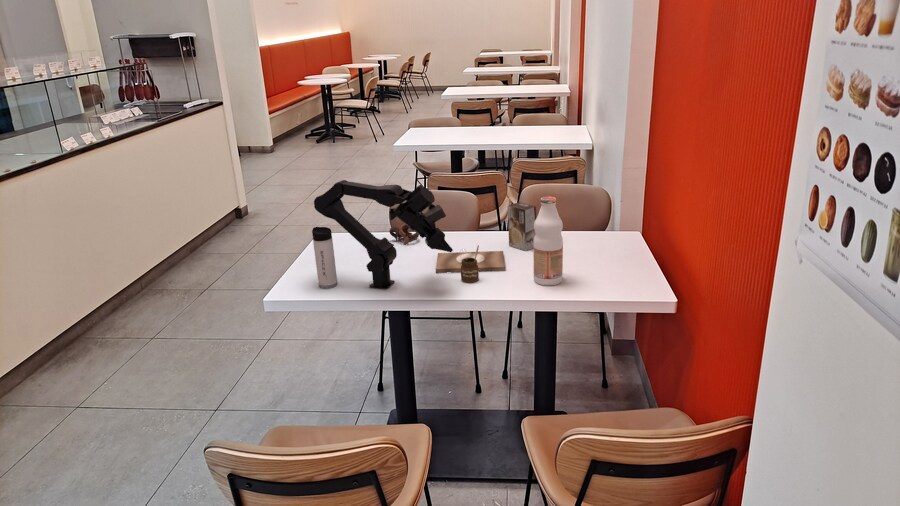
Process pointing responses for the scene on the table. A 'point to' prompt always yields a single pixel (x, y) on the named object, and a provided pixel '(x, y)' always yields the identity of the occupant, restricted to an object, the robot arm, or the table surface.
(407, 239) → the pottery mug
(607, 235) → the table surface
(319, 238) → the travel mug
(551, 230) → the fruit juice
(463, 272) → the utensil holder
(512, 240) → the coffee box
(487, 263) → the walnut board
